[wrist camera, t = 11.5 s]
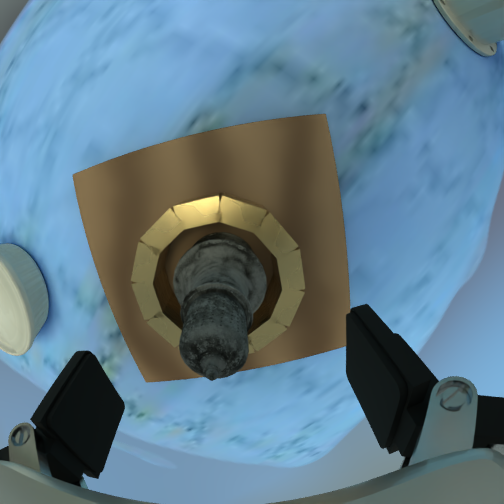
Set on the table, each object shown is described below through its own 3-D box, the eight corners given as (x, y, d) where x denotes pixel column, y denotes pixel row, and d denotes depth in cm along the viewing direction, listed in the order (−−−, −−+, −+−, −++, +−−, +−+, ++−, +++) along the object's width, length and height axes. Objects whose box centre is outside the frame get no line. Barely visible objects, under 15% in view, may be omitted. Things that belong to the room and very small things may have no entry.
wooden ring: (278, 180, 19) (288, 181, 15) (300, 316, 22) (311, 339, 18) (131, 214, 18) (112, 222, 15) (172, 340, 22) (164, 366, 18)
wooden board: (321, 116, 18) (325, 113, 18) (347, 338, 24) (350, 344, 23) (78, 174, 18) (72, 174, 17) (148, 376, 24) (146, 382, 23)
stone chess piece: (210, 211, 19) (178, 269, 7) (276, 257, 20) (329, 358, 9) (168, 276, 20) (110, 384, 8) (231, 315, 21) (235, 441, 10)
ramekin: (-4, 310, 21) (-28, 329, 16) (-9, 223, 18) (-41, 234, 13) (60, 346, 22) (38, 374, 17) (58, 251, 20) (24, 269, 15)
